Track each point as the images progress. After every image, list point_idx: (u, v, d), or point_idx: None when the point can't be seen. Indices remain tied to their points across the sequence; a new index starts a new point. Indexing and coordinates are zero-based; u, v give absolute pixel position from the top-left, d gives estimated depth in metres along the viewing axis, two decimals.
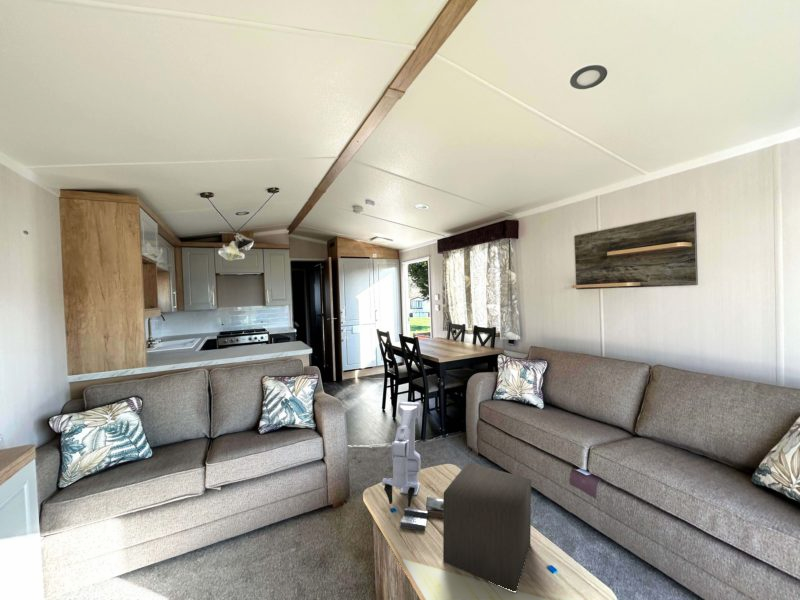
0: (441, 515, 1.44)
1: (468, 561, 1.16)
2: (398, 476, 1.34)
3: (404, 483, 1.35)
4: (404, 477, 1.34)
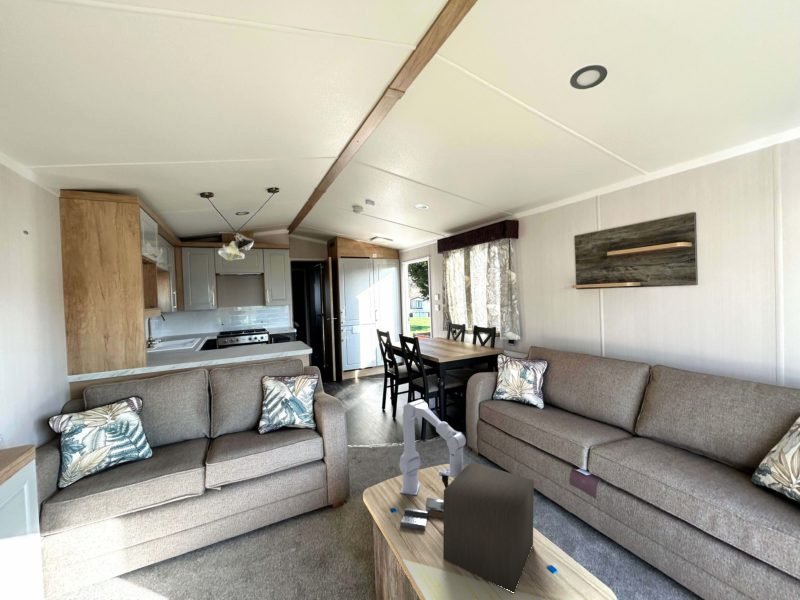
0: (441, 515, 1.44)
1: (467, 559, 1.16)
2: (455, 467, 1.42)
3: None
4: (461, 468, 1.42)
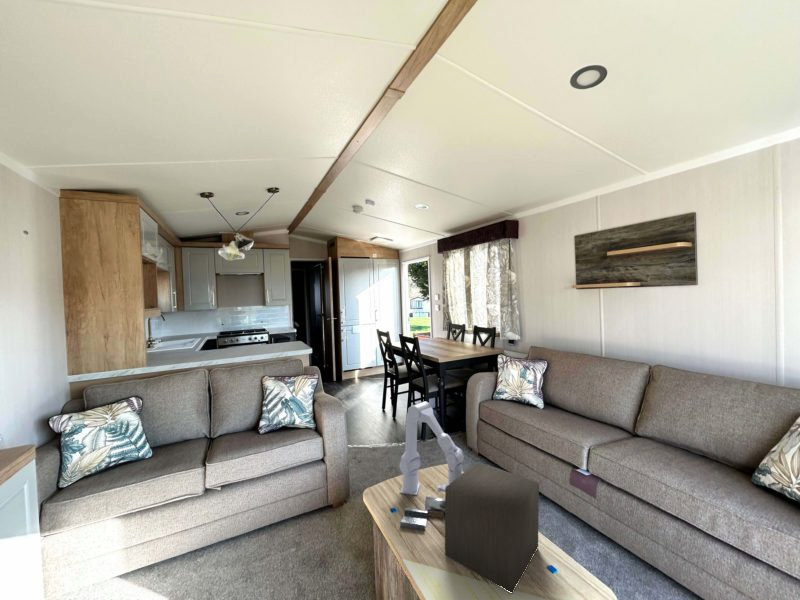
0: (441, 515, 1.44)
1: (467, 556, 1.18)
2: None
3: None
4: None
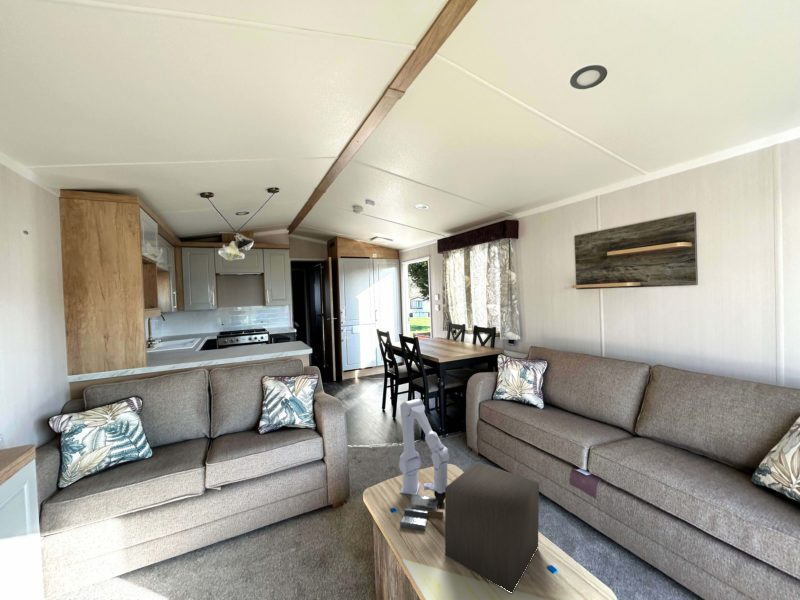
0: (441, 515, 1.44)
1: (467, 556, 1.18)
2: (440, 481, 1.45)
3: None
4: (445, 482, 1.45)
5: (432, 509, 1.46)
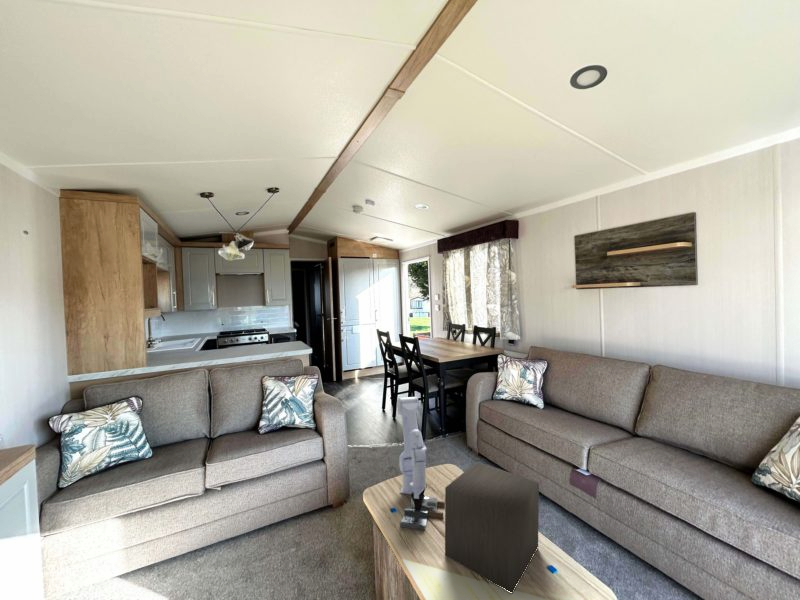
0: (441, 515, 1.44)
1: (467, 556, 1.18)
2: None
3: (414, 485, 1.48)
4: (413, 480, 1.48)
5: (432, 509, 1.46)
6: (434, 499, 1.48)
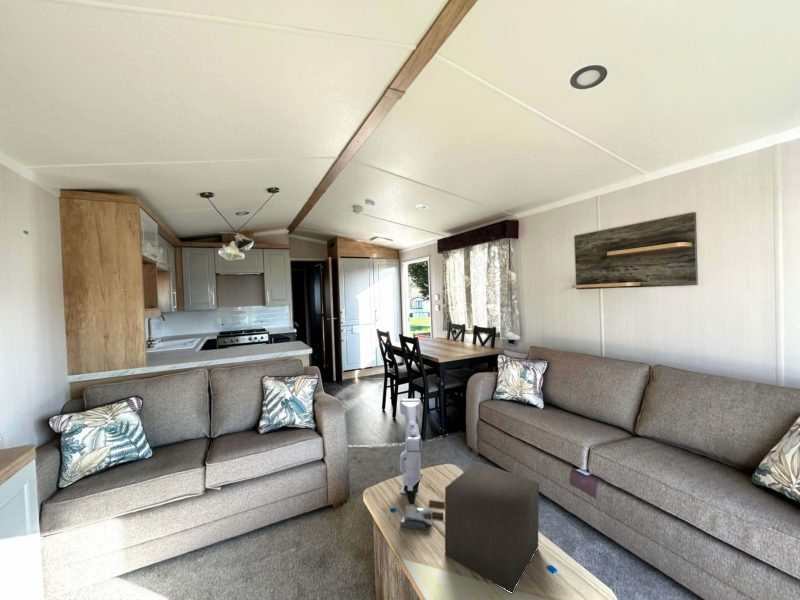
0: (441, 515, 1.44)
1: (467, 556, 1.18)
2: None
3: (408, 477, 1.39)
4: (407, 471, 1.39)
5: (427, 522, 1.37)
6: (429, 511, 1.39)
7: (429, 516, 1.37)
